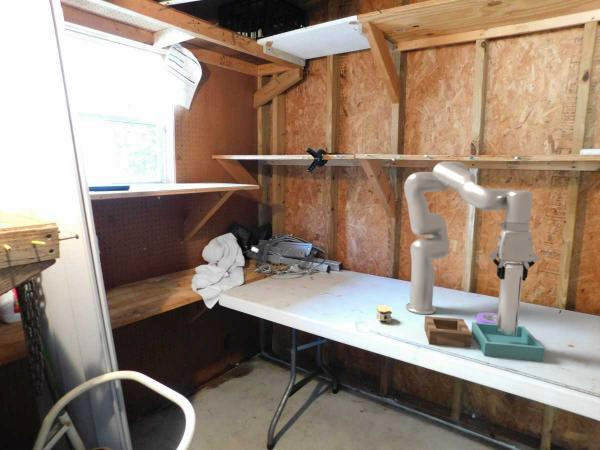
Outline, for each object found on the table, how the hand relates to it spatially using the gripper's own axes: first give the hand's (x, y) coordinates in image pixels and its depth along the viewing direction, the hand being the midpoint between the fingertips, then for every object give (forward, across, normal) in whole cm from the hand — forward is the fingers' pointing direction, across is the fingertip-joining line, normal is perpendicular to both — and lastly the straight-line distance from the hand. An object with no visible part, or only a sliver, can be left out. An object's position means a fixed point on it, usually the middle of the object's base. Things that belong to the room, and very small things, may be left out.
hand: (511, 278), depth 134 cm
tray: (+25, 0, 0) cm, 25 cm away
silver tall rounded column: (+20, 0, 0) cm, 20 cm away
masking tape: (+25, +1, +18) cm, 31 cm away
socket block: (+25, -19, +3) cm, 31 cm away
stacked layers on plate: (+25, -42, +14) cm, 51 cm away
